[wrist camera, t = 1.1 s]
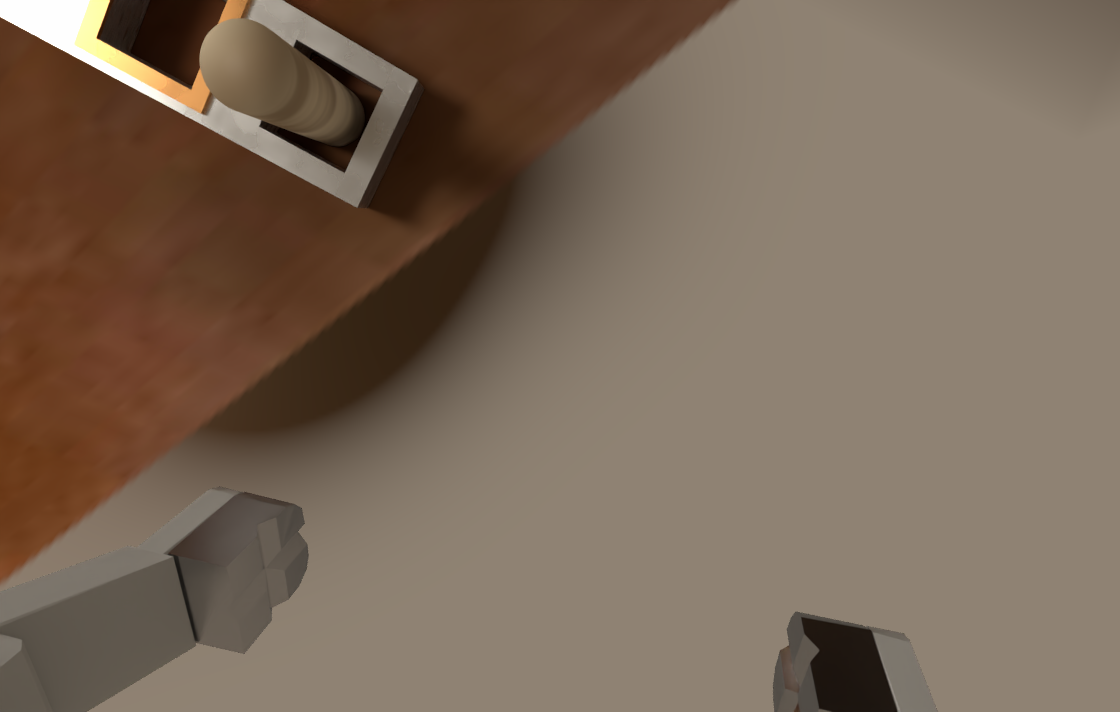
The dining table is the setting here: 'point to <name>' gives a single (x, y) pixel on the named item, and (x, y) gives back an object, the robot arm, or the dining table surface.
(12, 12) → the board
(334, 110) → the peg
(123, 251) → the dining table surface
